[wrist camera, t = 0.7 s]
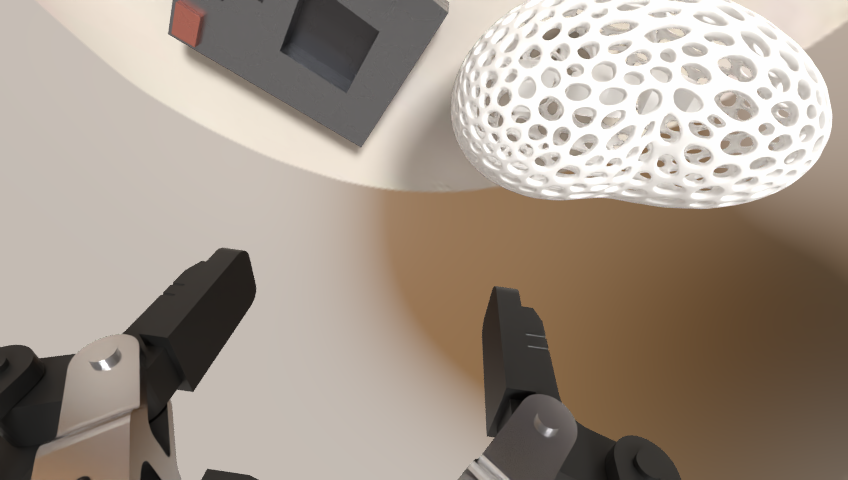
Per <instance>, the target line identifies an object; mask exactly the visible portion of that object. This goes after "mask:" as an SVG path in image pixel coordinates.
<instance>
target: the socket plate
mask: <svg viewBox="0 0 848 480" xmlns="http://www.w3.org/2000/svg"><path fill="white" fill-rule="evenodd" d="M448 9H449V2H448V1H446V0H173V2H172V10H171V17H170V24H169V32H168V34H169V35H171V36H172V37H174V38H176V39H177V40H179V41H181V42H183V43H184V44H186V45H188V46H189V47H191V48H193V49H194V50H196V51H198V52H200V53H201V54H203V55H205V56H206V57H208V58H210V59H211V60H213V61H215V62H217V63H218V64H220V65H222V66H223V67H225V68H227V69H229V70H230V71H232V72H234V73H235V74H237V75H239V76H240V77H242V78H244V79H246V80H247V81H249V82H251V83H252V84H254V85H256V86H258V87H259V88H261V89H263V90H264V91H266V92H268V93H269V94H271V95H273V96H275V97H276V98H278V99H280V100H281V101H283V102H285V103H286V104H288V105H290V106H292V107H293V108H295V109H297V110H298V111H300V112H302V113H304V114H305V115H307V116H309V117H310V118H312V119H314V120H315V121H317V122H319V123H321V124H322V125H324V126H326V127H327V128H329V129H331V130H333V131H334V132H336V133H338V134H339V135H341V136H343V137H344V138H346V139H348V140H350V141H351V142H353V143H355V144H356V145H358V146H360V147H362V145H363V144H364V142H365V141H366V139H367V137H368V136H369V134H370V133H371V131H372V130H373V128H374V127H375V125H376V124H377V122H378V120H379V119H380V117H381V116H382V114H383V113H384V111H385V110H386V108H387V107H388V105H389V103H390V102H391V100H392V99H393V97H394V96H395V94H396V93H397V91H398V90H399V88H400V87H401V85H402V83H403V82H404V80H405V79H406V77H407V76H408V74H409V73H410V71H411V70H412V68H413V66H414V65H415V63H416V62H417V60H418V59H419V57H420V56H421V54H422V53H423V51H424V49H425V48H426V46H427V45H428V43H429V42H430V40H431V39H432V37H433V36H434V34H435V32H436V31H437V29H438V28H439V26H440V25H441V23H442V22H443V20H444V19H445V17H446V15H447V14H448Z"/></svg>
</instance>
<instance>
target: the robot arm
mask: <svg viewBox="0 0 848 480" xmlns="http://www.w3.org/2000/svg"><path fill="white" fill-rule="evenodd" d="M255 294H256V284H255V280H254V275H253V271H252V266H251V262H250V258H249V254H248V253H247V252H246V251H242V250H235V249H228V248H220V249H218V250H217V251H216V252H215V253H214V254H213V255H212V256H211V257H210V258H209V260H207V261H206V262H205V261H201V262H199V263H197V264H195V265H194V266H192V267H190V268H188V269H187V270H185V271H184V272H183V273H182V274H181V275H180V276H179V277H178V278H177V279H176V280H175V281H174V282H173V285H170V286H169V287H168V288H167V289H166V290H165V291H164V292H163V295H160V296H159V297H158V298H157V299H156V300H155V301H154V302H153V303H152V304H151V306H149V307H148V308H147V310H146V311H145V312H144V313H143V314H142V315H141V316H140V317H139V318H138V319H137V320H136V321H135V322H134V323H133V324H132V325H131V326H130V327H129V328H128V329H127V330H126V331H125V332H124V333H123V334H116V335H110V336H106V337H103V338H100V339H98V340H95V341H94V342H92V343H90V344H88V345H86V346H85V347H83V348H82V349H81V350H80V351H78V353H77V354H71V355H63V356H55V357H48V358H38V357H37V356H36V354H35V353H34V352H33V351H32V350H31V349H30V348H29V347H26V346H23V345H10V346H5V347H0V480H181V477H180V474H179V471H178V467H177V461H176V449H175V436H174V424H173V412H172V403H171V400H170V398H171V397H172V395H173V394H174V393H175V391H176V390H184V391H191V392H193V391H194V390H195V388H196V387H197V385H198V384H199V382H200V381H201V379H202V378H203V376H204V375H205V373H206V372H207V370H208V368H209V367H210V366H211V364H212V363H213V361H214V360H215V358H216V357H217V355H218V354H219V352H220V351H221V349H222V348H223V347H224V345H225V344H226V342H227V341H228V339H229V338H230V336H231V335H232V333H233V332H234V330H235V329H236V327H237V326H238V324H239V323H240V321H241V320H242V318H243V317H244V315H245V314H246V312H247V311H248V309H249V308H250V306H251V305H252V303H253V301H254V298H255ZM482 344H483V365H484V387H485V406H486V407H485V408H486V429H487V436H489V437H495V438H494V439H493V441H492V442H491V443H490V445H489V446H488V447H487V449H486V450H485V451H484V453H483V454H482V455H481V456H480V457H479V458H478V459H475V460H474V461H473V462H472V463H471V464H470V465H469V466H468V467H467V469H466V470H465V471H464V472H463V474H462V475H461V476H460V478H459V479H458V480H681V478H680V475H679V473H678V471H677V468H676V467H675V465H674V463H673V462H672V461H671V459H670V458H669V457H668V456H667V454H666V453H665V452H664V451H663V450H661V449H660V448H659V447H658V446H657V445H655V444H653V443H652V442H650V441H649V440H647V439H644V438H642V437H638V436H625V437H622V438H621V439H619V440H618V441H617V442H615V441H613V440H611V439H609V438H607V437H605V436H602V435H600V434H598V433H596V432H594V431H592V430H589V429H588V428H585V427H584V426H582V425H581V424H580V423H578V422H577V421H576V420H575V419H574V417H573V415H572V414H571V412H570V411H569V410H568V408H567V407H565V405H564V404H562V402H561V400H560V396H559V392H558V388H557V384H556V379H555V375H554V370H553V366H552V362H551V357H550V353H549V351H548V344H547V340H546V339H545V331H544V327H543V323H542V320H541V319H540V318H539V316H538V315H537V313H536V312H535V311H534V309H533V308H529V307H522V306H521V301H520V296H519V291H518V290H517V289H511V288H504V287H497V286H494V287H493V290H492V293H491V296H490V300H489V303H488V307H487V310H486V314H485V317H484V322H483V330H482ZM202 480H258V479H256V478H254V477H252V476H250V475H244V474H238V473H231V472H224V471H218V470H211V469H207V470H206V472H205V474H204V476H203V478H202Z"/></svg>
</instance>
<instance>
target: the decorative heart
mask: <svg viewBox="0 0 848 480" xmlns="http://www.w3.org/2000/svg"><path fill="white" fill-rule="evenodd" d="M677 1H683V2H677ZM578 9H581V10H584V11H583V12H582V13H580V14H577V13H576V12H577V10H578ZM628 10H631V11H628ZM668 12H669V13H673V14H676V15H674V16H673V15H671V14H669V13H668ZM650 14H653V15H654V16H655V17H651V16H649V15H650ZM569 15H570V16H571V17H570V18H566V17H565V16H569ZM547 17H552V18H550V19H549V20H546V21H541V20H543V19H545V18H547ZM522 23H525V24H524V25H523V26H522V27H519V26H520V25H521V24H522ZM615 23H627V24H630V27H629V28H628V29H619V28H615V27H612V26H610V24H615ZM518 27H519V28H518ZM554 28H558V29H560V33H559V34H558V35H557V36H556V37H555V38H554V39H552V40H544V39H543V38H542V37H543V35H544V34H545V33H546V32H547V31H549V30H551V29H554ZM668 28H675V29H680V30H682V31H683V32H684V34H685V35H677V34H675V33H673V32H671V31H670V30H668ZM600 29H602V30H604V31H602V32H599V30H600ZM586 30H587V31H588V32H587V31H586ZM656 30H657V33H656ZM531 31H532V32H531ZM530 32H531V33H530ZM573 32H578V33H579V37H578V38H570V37H569V36H568V35H569V34H571V33H573ZM528 33H529V34H528ZM611 34H618V35H614V36H609V35H611ZM663 39H667V40H671V41H670V42H666V43H659V42H660V40H663ZM714 40H715V41H720V42H722V43H724V44H725V45H726V46H722V45H717V44H715V43H714ZM619 44H625V45H627V46H621V45H619ZM747 45H748V46H747ZM558 48H559V49H560V54H558V53H557V52H556V51H557V50H558ZM580 48H582V49H584V50H585V51H587V52H588V54H589V55H590V59H583V58H581V57H580V56H579V55H578V52H577V50H578V49H580ZM694 48H696V49H698V50H700V51H701V52H699V51H697V50H695V49H694ZM533 49H536V50H538V51H539V52H540V53H541V54H540V55H539V56H537V57H535V58H531V57H530V53H531V51H532V50H533ZM608 50H616V51H620V52H621V53H618V54H610V53H609V52H608ZM682 51H683V52H682ZM636 53H642V54H644V55H646V56H647V61H646V60H643V59H641V58H639V57H638V56H637V54H636ZM493 55H495V57H494V58H493V59H492V60H491V57H492V56H493ZM552 56H554V57H555V58H556V59H557V60H555V61H554V60H552V59H551V58H552ZM520 57H522V59H520ZM626 58H627V62H626V63H625V59H626ZM723 58H726V59H728V60H729V61H730V63H731V68H725V67H722V66H720V65H719V64H717V61H718V60H720V59H723ZM635 63H641V64H642V65H640V66H634V64H635ZM742 66H744V67H747V68H749V69H750V71H751V74H752V77H749V76H747V75H745V74H744V73H743V71H742V69H741V67H742ZM681 67H683V68H684V69H685V70H686V71H687V74H688V77H687V76H686V75H684V74H682V73H681V72H680V71H681ZM568 68H570V69H571V70H572V71H573V73H572V74H571V75H568V73H567V69H568ZM696 69H698V70H700V71H698V70H696ZM730 74H731V75H734V76H735V77H736V78H737V79H738V81H736V80H734V79H732V78H730V77H728V75H730ZM699 78H707V79H708V81H707V83H705V84H703V85H701V84H700V83H698V82H697V81H698V79H699ZM769 78H770V80H771V82H770V80H769ZM488 80H491V81H492V85H491V87H490V88H486V84H487V82H488ZM553 82H554V85H553ZM552 85H553V86H552ZM782 85H783V87H782ZM479 89H480V93H479V96H478V90H479ZM565 90H566V91H565ZM757 90H759V91H760V93H759V94H757ZM726 92H731V93H735V94H736V97H737V98H736V102H735V104H734V105H733V106H731V107H727V106H724V105H722V104H721V102H720V97H721V96H722V95H723V94H724V93H726ZM505 93H508V94H509V99H510V102H509V103H508V104H507V105H505V106H500V104H499V99H500V98H501V96H502V95H503V94H505ZM488 96H489V97H490V103H489V105H488V106H487V105H486V103H485V100H486V98H487V97H488ZM800 97H801V98H800ZM546 98H548V99H547V101H546V102H545V103H544V104H540V102H541V101H542V100H544V99H546ZM637 98H638V104H636V100H637ZM763 98H765V100H764V99H763ZM745 100H746V101H747V102H748V103H749V104H750V105H751V107H748V106H746V105H745V104H744V101H745ZM551 102H556V103H557V105H558V108H557V111H556V113H555V114H553V115H551V114H549V113H548V111H547V108H548V105H549V104H550V103H551ZM477 108H478V109H479V116H478V115H477ZM740 109H745V110H747V111H748V112H749V113H750V115H751V118H749V119H748V120H746V121H744V120H740V119H739V118H738V116H737V112H738V110H740ZM781 109H782V110H785V111H787V112H788V114H789V116H788V117H787V118H785V117H782V116H780V115H779V114H778V111H779V110H781ZM636 110H638V113H637V112H636ZM512 111H513V115H512V114H511V113H512ZM539 111H540V112H541V115H540V114H539ZM492 112H495V116H494V117H491V116H490V114H491V113H492ZM724 112H726V113H728V114H729V116H728V115H727V114H725V113H724ZM575 114H577V115H581V116H589V117H590V118H591V119H592V120H591V121H590V123H581V122H579V121H578V120H577V119H576V117H575ZM667 114H668V115H667ZM560 115H561V117H560V118H559V116H560ZM665 115H667V116H665ZM500 116H502V118H503V123H502V125H501V126H500V127H499V126H498V121H499V118H500ZM605 116H606V117H611V118H619V120H618V122H617V123H615V124H614V125H613V126H608V125H606V124H604V123H603V122H602V120H603V118H604V117H605ZM715 117H716V118H718V119H719V120H720V121H721V123H722V124H715V123H714V118H715ZM518 118H522V119H524V120H526V122H525V123H516V120H517V119H518ZM777 120H780V121H781V122H782V123H783V125H781V124H780V123H779V122H778V121H777ZM451 121H452V126H453V130H454V133H455V137H456V139H457V142H458V144H459V146H460V148H461V150H462V151H463V153H464V155H465V156H466V158H467V159H468V160H469V162H470V163H471V164H472V165H473V166H474V167H475V168H476V169H477V170H478V171H479V172H480V173H481V174H482V175H484V176H485V177H486V178H487V179H489V180H490V181H492V182H494V183H496V184H498V185H500V186H501V187H503V188H505V189H507V190H510V191H513V192H516V193H518V194H521V195H524V196H528V197H532V198H539V199H547V200H571V199H584V198H611V199H617V200H622V201H628V202H633V203H640V204H646V205H652V206H659V207H669V208H696V209H706V208H717V207H725V206H731V205H738V204H742V203H746V202H750V201H753V200H757V199H760V198H763V197H765V196H768V195H770V194H773V193H776V192H778V191H780V190H782V189H784V188H786V187H787V186H789V185H791V184H792V183H794V182H795V181H796V180H798V179H799V178H800V177H801V176H802V175H803V174H804V173H806V172H807V171H808V170H809V169H810V168H811V167H812V166H813V165H814V163H815V162H816V161H817V160H818V159H819V157H820V155H821V152H822V150H823V148H824V147H825V145H826V143H827V141H828V139H829V136H830V131H831V126H832V110H831V105H830V100H829V95H828V90H827V87H826V84H825V82H824V80H823V77H822V76H821V74H820V72H819V70H818V69H817V67H816V66H815V65H814V63H813V62H812V60H811V59H810V57H809V56H808V55H807V54H806V53H805V51H804V50H803V49H802V48H801V47H800V46H799V45H798V44H797V43H796V42H795V41H794V40H793V39H791V38H790V37H789V36H787V35H786V34H785V33H784V32H782V31H781V30H780V29H778V28H777V27H776V26H775V25H773V24H772V23H771V22H769V21H768V20H767V19H765V18H764V17H762V16H760V15H759V14H757V13H755V12H753V11H751V10H749V9H747V8H745V7H743V6H741V5H739V4H737V3H735V2H733V1H731V0H527V1H526V2H524V3H522V4H521V5H519V6H517V7H516V8H514V9H513V10H511V11H510V12H508V13H507V14H505V15H504V16H503V17H502V18H500V19H499V20H498V21H496V22H495V23H494V24H493V25H492V26H491V27H490V28H489V29H488V30H487V31H486V32H485V33H484V34H483V35H482V36H481V37H480V39H479V40H478V41H477V42H476V44H475V45H474V46H473V48H472V49H471V50H470V51H469V53H468V55H467V56H466V58H465V60H464V61H463V63H462V65H461V68H460V70H459V72H458V75H457V77H456V80H455V84H454V87H453V91H452V98H451ZM671 121H677V123H678V125H679V127H680V132H677V131H672V130H670V129H669V128H668V127H667V123H668V122H671ZM488 122H489V123H491V126H492V127H491V126H490V125H489V124H488ZM693 122H699V123H701V124H703V125H699V126H697V125H694V124H693ZM648 123H650V124H649V125H648ZM761 124H764V125H766V130H765V131H763V132H759V131H758V127H759V126H760V125H761ZM539 125H540V126H542V127H544V128H545V129H546V135H544V134H542V133H540V132H539V130H538V127H539ZM478 126H480V128H481V130H482V131H480V129H479V128H478ZM644 129H646V130H647V131H646V133H645V134H644V135H643V136H642V137H641V135H642V133H643V130H644ZM706 129H709V131H710V136H709V137H706V136H701V135H699V134H698V132H699V131H701V130H706ZM734 131H739V132H741V133H739V134H735V135H729V133H731V132H734ZM561 133H567V134H569V136H568V138H567V140H566V141H563V140H562V139H561V138H560V134H561ZM660 133H666V134H669V135H670V136H671V138H670V139H664V138H661V137H660ZM493 134H495V135H497V137H498V139H497V141H496V140H495V139H494V137H493ZM510 134H511V135H513V136H515V137H516V139H517V141H515V142H514V141H511V140H510V139H508V137H507V135H510ZM619 134H625V135H627V136H628V138H627V140H626V141H623V140H621V139H620V138H619V137H618V135H619ZM778 136H779V137H780V140H779V141H778V142H777V143H772V142H771V141H772V140H773V139H775V138H776V137H778ZM529 137H531V138H534V139H535V140H532V139H530V138H529ZM746 137H750V138H751V139H752V141H753V145H752V146H748V147H742V146H741V145H740V143H741V141H742V140H743V139H744V138H746ZM610 138H611V139H610ZM609 139H610V140H609ZM722 140H728V141H730V145H729V146H728V147H727V148H725V149H723V150H721V148H720V143H721V141H722ZM545 143H547V144H548V146H547V147H546V148H544V149H543V145H544V144H545ZM553 143H554V144H556V145H554V144H553ZM585 143H594V144H593V146H592V147H591V148H590V149H589V148H587V147H586V146H585V145H584V144H585ZM526 144H528V145H530V146H531V147H532V148H529V147H527V145H526ZM615 145H619V146H620V147H618V148H617V149H615V148H614V147H613V146H615ZM768 146H772V147H773V148H774V149H773V150H772V151H770V150H769V149H768ZM501 147H502V148H503V151H501ZM645 147H647V149H648V152H647V153H645V154H641V153H642V151H643V149H644V148H645ZM570 149H573V150H577V151H580V152H582V153H583V154H581V155H577V156H573V155H570V154H569V151H570ZM691 149H700V150H702V152H700V153H697V154H689V153H686V152H687V151H688V150H691ZM520 150H522V151H523V153H524V154H523V153H521V152H520ZM508 152H511V155H510V156H509V154H508ZM736 152H739V153H742V154H741V155H730V154H732V153H736ZM538 157H539V158H541V159H542V160H543V162H544V163H545V166H539V165H537V164H536V163H535V159H536V158H538ZM553 157H558V159H557V160H556V161H554V160H552V159H551V158H553ZM704 157H711V158H710V160H709V161H707V162H706V163H702V162H699V160H700V159H701V158H704ZM758 158H760V159H758ZM658 159H659V160H661V161H663V162H664V164H665V166H663V167H657V161H658ZM686 159H688V160H690V163H689V162H687V161H686ZM756 159H757V160H756ZM673 160H675V161H676V163H677V164H674V163H673V162H672V161H673ZM607 163H611V164H613V165H612V166H606V165H607ZM762 165H764V166H763V167H761V168H759V167H760V166H762ZM749 166H751V168H749ZM720 167H722V168H727V169H728V171H726V172H725V173H720V174H718V173H714V172H713V171H714V170H715V169H716V168H720ZM516 168H518V169H516ZM519 169H521V170H519ZM560 169H565V170H569V171H572V172H574V173H575V174H562V173H558V171H559V170H560ZM623 169H624V170H626V171H625V172H622V171H621V170H623ZM671 171H677V172H676V173H674V174H670V173H669V172H671ZM645 172H646V173H649V174H650V175H651V178H650V179H648V178H645V177H643V176H641V175H640V173H645ZM687 174H688V175H689V176H686V175H687ZM542 175H543V176H542ZM530 176H531V178H530ZM588 176H595V178H586V177H588ZM685 176H686V177H685ZM701 177H704V178H703V179H702V180H700V181H697V180H696V179H698V178H701ZM752 177H753V179H751V180H750V181H746V180H747V179H749V178H752ZM745 181H746V182H745ZM675 184H676V185H679V186H682V187H683V188H681V187H677V186H675ZM702 188H709V189H711V190H709V191H700V189H702ZM627 189H633V190H627ZM636 190H637V191H636Z"/></svg>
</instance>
